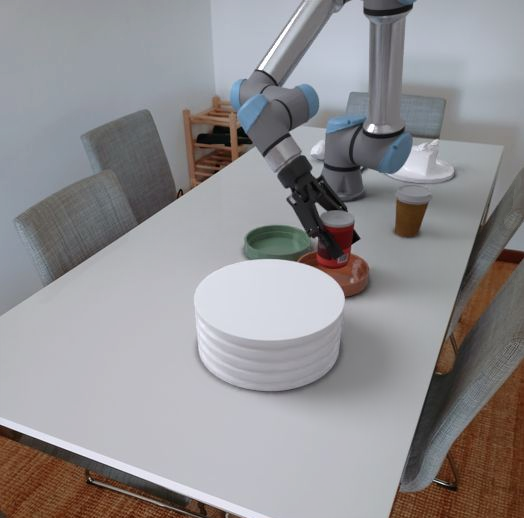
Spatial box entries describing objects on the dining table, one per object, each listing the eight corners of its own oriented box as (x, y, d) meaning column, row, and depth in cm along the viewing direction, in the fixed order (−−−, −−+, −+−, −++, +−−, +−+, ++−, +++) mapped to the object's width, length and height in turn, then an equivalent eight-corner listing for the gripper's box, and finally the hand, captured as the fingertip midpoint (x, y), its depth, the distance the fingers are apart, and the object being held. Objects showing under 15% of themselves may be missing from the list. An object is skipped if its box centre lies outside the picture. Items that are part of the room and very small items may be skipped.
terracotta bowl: (324, 255, 131) (325, 243, 129) (381, 278, 122) (383, 265, 120) (280, 280, 121) (281, 267, 119) (339, 307, 112) (340, 294, 110)
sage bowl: (274, 230, 142) (274, 219, 140) (323, 250, 133) (324, 238, 131) (230, 251, 133) (230, 239, 130) (280, 274, 123) (280, 261, 121)
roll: (307, 163, 187) (308, 147, 183) (316, 153, 195) (317, 138, 192) (322, 165, 185) (324, 149, 181) (331, 155, 194) (332, 140, 190)
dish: (461, 167, 184) (469, 134, 177) (440, 188, 168) (448, 153, 161) (396, 155, 195) (402, 123, 188) (371, 174, 178) (375, 140, 171)
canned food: (352, 256, 121) (358, 212, 114) (345, 272, 115) (350, 227, 108) (320, 251, 123) (324, 207, 116) (312, 266, 117) (316, 221, 110)
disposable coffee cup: (424, 241, 138) (434, 198, 130) (388, 238, 139) (396, 195, 132) (423, 226, 145) (432, 185, 137) (389, 223, 146) (396, 182, 139)
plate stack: (362, 374, 94) (371, 324, 87) (215, 404, 88) (211, 353, 81) (309, 297, 115) (312, 251, 108) (187, 316, 109) (182, 269, 102)
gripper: (301, 161, 121) (355, 239, 125) (253, 188, 107) (314, 275, 111) (322, 142, 116) (378, 224, 119) (275, 167, 102) (339, 260, 105)
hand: (347, 249), depth 115 cm, fingers closed on canned food, 8 cm apart
